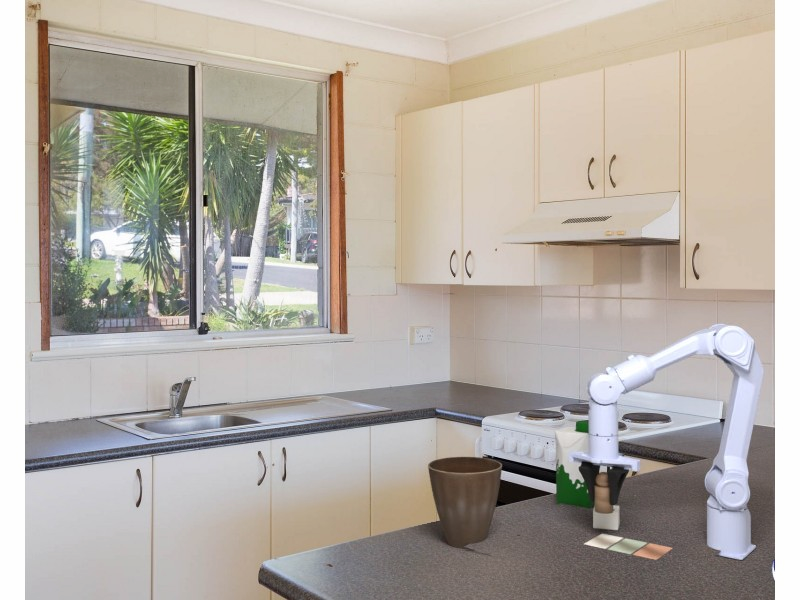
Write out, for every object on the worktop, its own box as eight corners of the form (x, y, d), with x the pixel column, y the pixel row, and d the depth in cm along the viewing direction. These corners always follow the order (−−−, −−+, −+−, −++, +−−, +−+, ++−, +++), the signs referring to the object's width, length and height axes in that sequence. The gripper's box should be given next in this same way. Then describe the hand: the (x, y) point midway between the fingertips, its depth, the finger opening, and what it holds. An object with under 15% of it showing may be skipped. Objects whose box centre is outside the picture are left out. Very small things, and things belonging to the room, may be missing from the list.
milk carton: (587, 512, 181) (587, 425, 181) (550, 506, 186) (550, 422, 186) (601, 504, 188) (601, 420, 188) (566, 498, 193) (565, 417, 193)
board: (602, 537, 162) (602, 532, 162) (675, 552, 153) (675, 547, 153) (580, 550, 155) (580, 544, 155) (655, 567, 145) (655, 560, 145)
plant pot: (472, 560, 149) (471, 476, 149) (413, 543, 160) (412, 465, 159) (517, 541, 160) (516, 463, 160) (459, 527, 170) (459, 453, 170)
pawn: (599, 507, 159) (599, 469, 159) (616, 510, 157) (616, 471, 157) (591, 511, 157) (591, 472, 157) (608, 514, 154) (608, 475, 154)
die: (595, 526, 170) (595, 503, 170) (619, 529, 169) (619, 505, 169) (593, 533, 166) (593, 509, 166) (617, 535, 164) (617, 511, 164)
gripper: (560, 433, 158) (561, 500, 158) (630, 441, 149) (630, 512, 149) (576, 428, 164) (577, 493, 164) (644, 435, 155) (645, 504, 155)
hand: (603, 502), depth 157 cm, fingers closed on pawn, 4 cm apart
